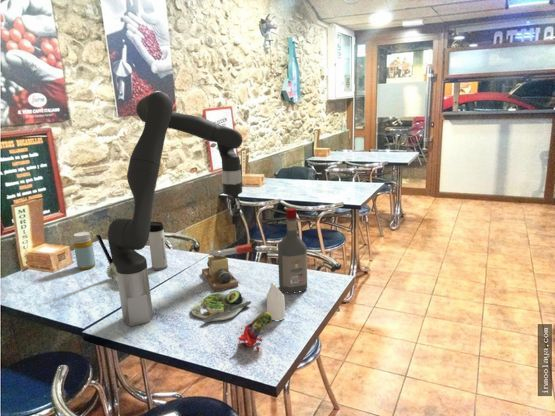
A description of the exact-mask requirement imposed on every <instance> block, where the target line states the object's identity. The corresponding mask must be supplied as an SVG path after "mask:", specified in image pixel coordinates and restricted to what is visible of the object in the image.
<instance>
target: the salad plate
mask: <svg viewBox="0 0 555 416" xmlns="http://www.w3.org/2000/svg"><path fill="white" fill-rule="evenodd" d="M251 304H252V301H251V300H249V301H248V300H247V298H246V297H243V296H242V293H241V291H239V290H231V291H229V293H224V292H212V293H209V294H206V295H205V296H204V297H202V298H201V299H200V300H199V301H197V302H196V303H195V304H194V305H193V306H191V308H190V309H191V310H190V312H191V314H192V315H193V316H194V317H197V318H198V319H200V320H202V322H203V323H209V322H217V321H223V320H225V321H226V320H230V319H232V318H234V317H235V316H237V315H238V314H239V313H240V312H241V311H242V310H243V309H245V308H246V307H248V306H249V305H251ZM204 306H205V307H206V311H207V312H208V313H202V312H201V309H202V308H204Z"/></svg>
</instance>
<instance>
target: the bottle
mask: <svg viewBox="0 0 555 416" xmlns="http://www.w3.org/2000/svg"><path fill="white" fill-rule="evenodd" d="M73 240H74V245H73V247H74V253H75V259H76V265H77V268H78V269H79V270H81V271H85V270H91V269H93V268H94V267H95V266H96V260H95V259H96V258H95V252H94V245H93V244H94V243H93V242H92V239H91V233H90V231H79V232H76V233H73Z"/></svg>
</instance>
